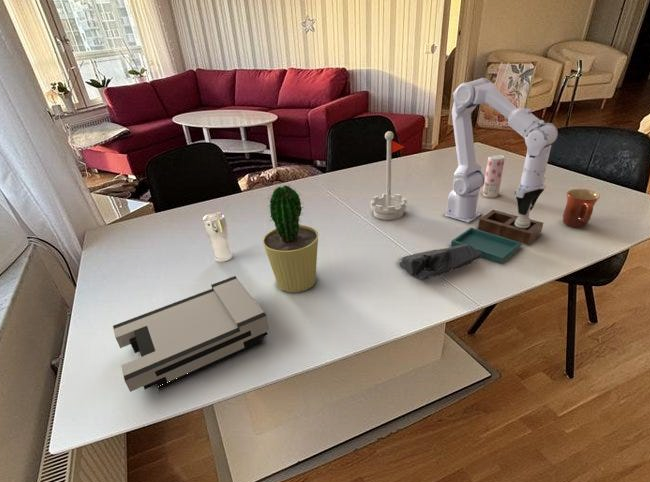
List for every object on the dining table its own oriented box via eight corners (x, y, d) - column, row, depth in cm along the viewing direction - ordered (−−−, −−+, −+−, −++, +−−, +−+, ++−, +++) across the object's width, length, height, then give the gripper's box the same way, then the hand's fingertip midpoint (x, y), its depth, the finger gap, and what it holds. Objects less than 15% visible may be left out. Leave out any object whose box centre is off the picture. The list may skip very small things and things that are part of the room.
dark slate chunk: (491, 264, 110) (491, 248, 108) (418, 283, 107) (418, 267, 105) (460, 246, 123) (460, 232, 121) (395, 262, 120) (394, 248, 118)
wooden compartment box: (477, 229, 131) (479, 218, 129) (491, 220, 136) (493, 209, 134) (527, 245, 120) (530, 233, 118) (540, 234, 125) (543, 222, 123)
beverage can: (499, 193, 153) (506, 154, 145) (496, 198, 150) (503, 159, 141) (484, 191, 156) (490, 153, 148) (480, 196, 152) (486, 158, 144)
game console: (123, 346, 99) (110, 321, 94) (241, 299, 111) (235, 275, 106) (136, 403, 83) (122, 376, 79) (272, 341, 95) (266, 315, 91)
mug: (555, 217, 133) (563, 189, 127) (584, 217, 131) (593, 188, 125) (566, 234, 123) (575, 204, 118) (598, 235, 121) (609, 204, 116)
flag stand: (366, 219, 146) (365, 136, 129) (375, 204, 155) (375, 126, 139) (402, 222, 141) (405, 137, 124) (409, 207, 151) (412, 126, 134)
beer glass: (238, 252, 134) (228, 212, 125) (228, 263, 128) (217, 222, 120) (220, 251, 136) (210, 211, 128) (209, 261, 131) (198, 221, 122)
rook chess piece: (511, 223, 126) (516, 200, 121) (525, 221, 126) (530, 198, 121) (518, 229, 122) (523, 206, 118) (532, 228, 122) (538, 204, 118)
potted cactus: (304, 302, 107) (290, 199, 91) (260, 289, 114) (240, 191, 98) (332, 273, 117) (324, 177, 101) (290, 263, 125) (276, 171, 109)
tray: (450, 246, 124) (451, 240, 123) (470, 232, 130) (470, 227, 129) (501, 263, 113) (502, 258, 112) (520, 248, 119) (521, 242, 118)
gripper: (537, 179, 107) (527, 223, 115) (559, 164, 115) (548, 207, 122) (511, 174, 112) (503, 217, 120) (534, 160, 120) (525, 201, 127)
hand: (524, 211), depth 121 cm, fingers closed on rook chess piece, 3 cm apart
